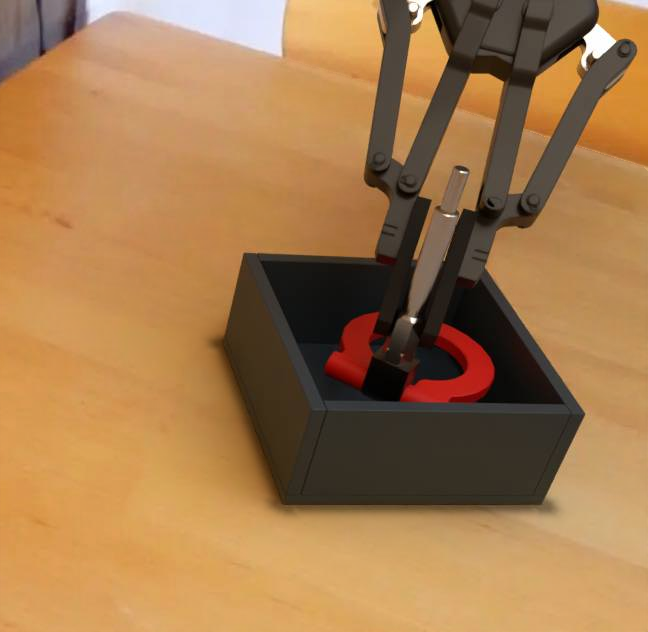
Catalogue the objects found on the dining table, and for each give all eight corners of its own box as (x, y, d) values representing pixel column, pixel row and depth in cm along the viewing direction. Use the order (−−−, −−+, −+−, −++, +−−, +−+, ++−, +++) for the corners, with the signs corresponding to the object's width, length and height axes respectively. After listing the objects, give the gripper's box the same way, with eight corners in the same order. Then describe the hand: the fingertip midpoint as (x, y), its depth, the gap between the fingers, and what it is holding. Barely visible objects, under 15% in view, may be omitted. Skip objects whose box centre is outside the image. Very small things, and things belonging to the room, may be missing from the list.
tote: (448, 348, 78) (481, 261, 74) (542, 504, 67) (586, 413, 63) (222, 342, 75) (243, 251, 71) (283, 504, 65) (311, 409, 60)
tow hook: (374, 312, 73) (304, 374, 67) (444, 95, 65) (372, 141, 59) (508, 371, 70) (449, 441, 64) (600, 151, 62) (542, 206, 56)
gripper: (668, -28, 67) (533, 391, 66) (398, -93, 69) (264, 313, 68) (718, -113, 59) (567, 359, 58) (413, -182, 61) (263, 272, 60)
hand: (404, 334), depth 63 cm, fingers closed on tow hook, 2 cm apart
